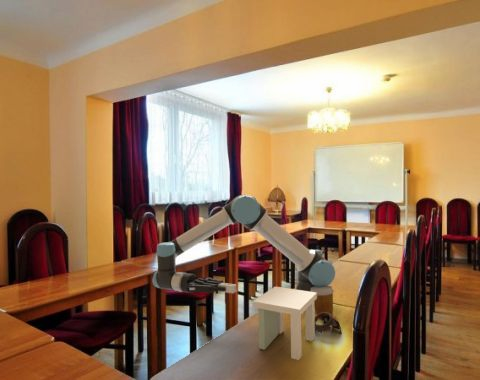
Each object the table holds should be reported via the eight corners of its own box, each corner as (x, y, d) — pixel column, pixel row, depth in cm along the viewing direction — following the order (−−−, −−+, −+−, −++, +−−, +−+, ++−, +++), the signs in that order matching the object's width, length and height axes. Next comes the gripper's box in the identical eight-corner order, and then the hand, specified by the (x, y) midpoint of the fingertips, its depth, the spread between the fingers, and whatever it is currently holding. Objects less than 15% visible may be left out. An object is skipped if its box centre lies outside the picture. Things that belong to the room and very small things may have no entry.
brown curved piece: (347, 339, 114) (337, 321, 112) (322, 349, 115) (312, 332, 114) (338, 317, 126) (329, 301, 124) (315, 327, 127) (306, 310, 125)
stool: (275, 328, 122) (275, 286, 122) (317, 337, 114) (316, 292, 114) (253, 349, 107) (253, 301, 107) (300, 362, 99) (299, 309, 99)
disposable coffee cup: (320, 313, 139) (317, 284, 140) (341, 316, 132) (337, 286, 133) (308, 319, 132) (305, 289, 133) (329, 322, 125) (325, 291, 127)
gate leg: (273, 332, 118) (273, 296, 118) (278, 333, 117) (278, 297, 117) (258, 348, 107) (258, 308, 107) (264, 349, 106) (263, 309, 106)
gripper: (195, 286, 140) (244, 293, 128) (174, 296, 127) (225, 305, 116) (195, 269, 139) (243, 274, 128) (173, 277, 127) (224, 284, 116)
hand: (234, 288), depth 122 cm, fingers closed
